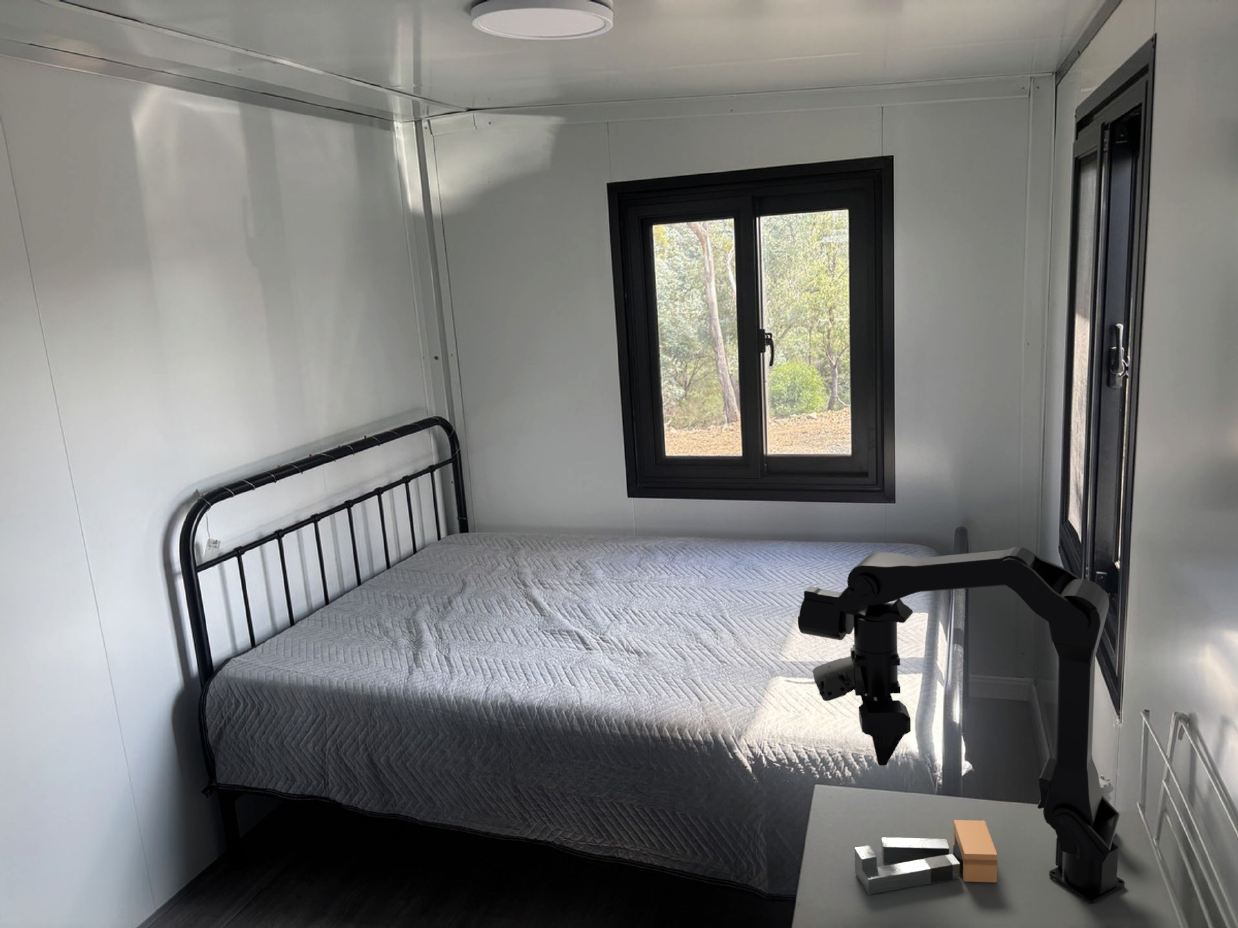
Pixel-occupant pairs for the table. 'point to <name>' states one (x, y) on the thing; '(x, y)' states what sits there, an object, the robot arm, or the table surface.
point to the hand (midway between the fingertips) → (877, 747)
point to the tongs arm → (902, 871)
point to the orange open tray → (976, 851)
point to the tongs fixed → (917, 849)
